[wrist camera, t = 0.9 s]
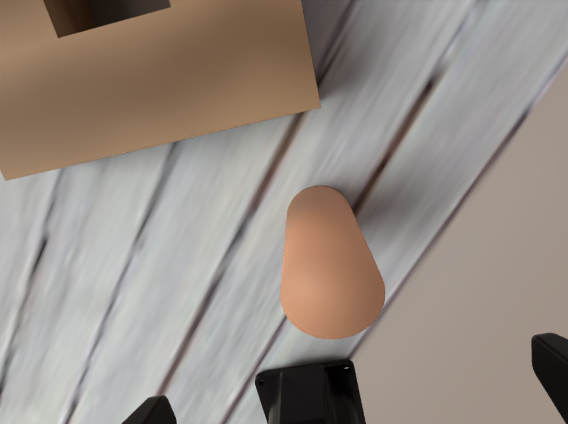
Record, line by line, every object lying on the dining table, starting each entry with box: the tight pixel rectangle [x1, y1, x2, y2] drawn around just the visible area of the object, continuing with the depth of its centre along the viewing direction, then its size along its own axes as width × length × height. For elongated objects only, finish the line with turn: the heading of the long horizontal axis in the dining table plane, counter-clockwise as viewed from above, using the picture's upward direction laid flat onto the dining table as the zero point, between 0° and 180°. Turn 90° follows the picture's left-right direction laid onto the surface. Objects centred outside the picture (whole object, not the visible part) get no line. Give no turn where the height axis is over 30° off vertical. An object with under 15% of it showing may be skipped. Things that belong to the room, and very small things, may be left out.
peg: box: [281, 186, 385, 339], centre depth 16 cm, size 4×4×8 cm
